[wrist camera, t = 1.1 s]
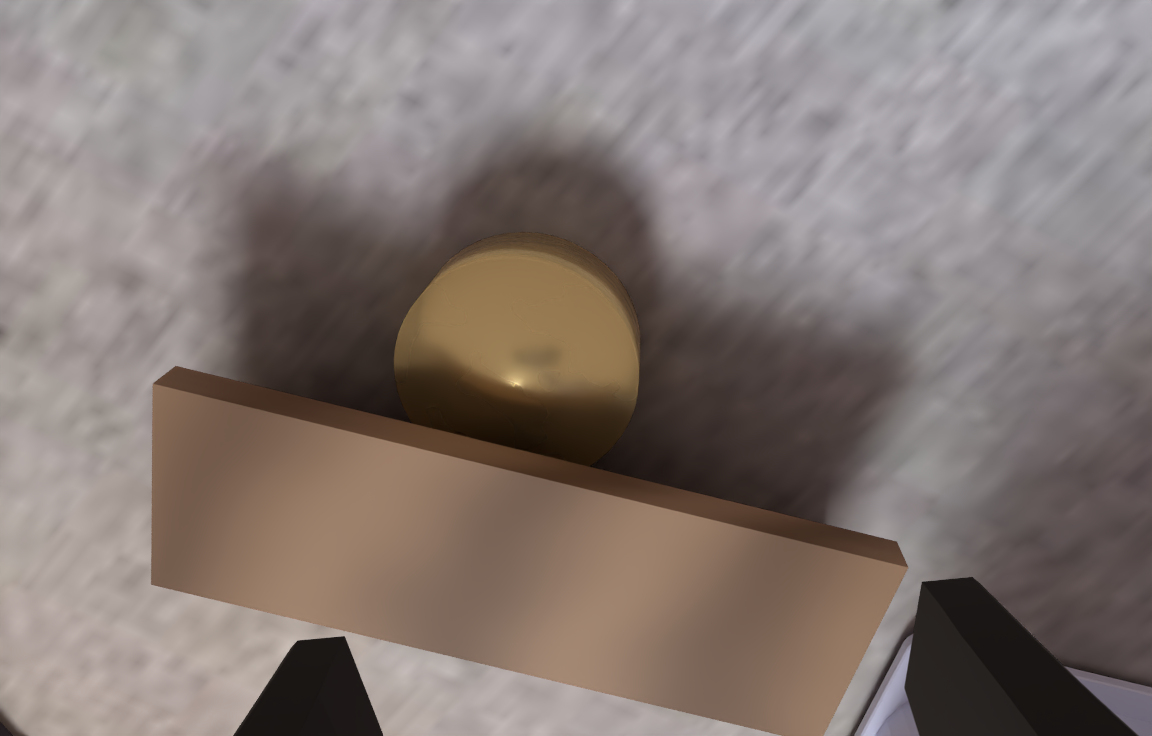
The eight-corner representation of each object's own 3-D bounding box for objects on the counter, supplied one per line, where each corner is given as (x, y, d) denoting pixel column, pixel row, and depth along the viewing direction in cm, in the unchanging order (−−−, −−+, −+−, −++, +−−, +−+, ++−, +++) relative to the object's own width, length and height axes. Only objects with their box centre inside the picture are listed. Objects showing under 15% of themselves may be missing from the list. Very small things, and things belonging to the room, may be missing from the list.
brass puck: (667, 262, 21) (668, 294, 19) (610, 457, 23) (605, 507, 21) (438, 205, 21) (412, 230, 19) (406, 407, 23) (379, 451, 21)
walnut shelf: (867, 476, 23) (908, 567, 19) (794, 637, 25) (818, 744, 22) (233, 321, 22) (152, 383, 19) (224, 499, 25) (151, 584, 21)
